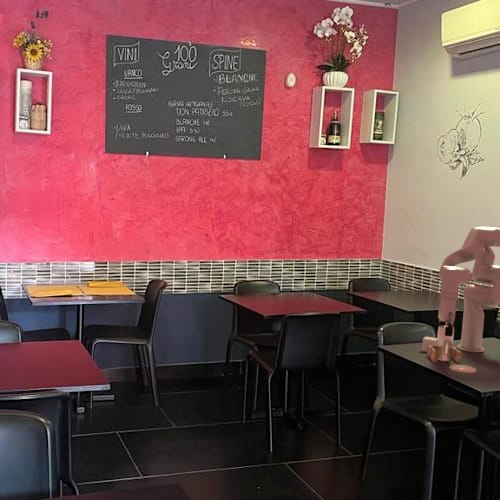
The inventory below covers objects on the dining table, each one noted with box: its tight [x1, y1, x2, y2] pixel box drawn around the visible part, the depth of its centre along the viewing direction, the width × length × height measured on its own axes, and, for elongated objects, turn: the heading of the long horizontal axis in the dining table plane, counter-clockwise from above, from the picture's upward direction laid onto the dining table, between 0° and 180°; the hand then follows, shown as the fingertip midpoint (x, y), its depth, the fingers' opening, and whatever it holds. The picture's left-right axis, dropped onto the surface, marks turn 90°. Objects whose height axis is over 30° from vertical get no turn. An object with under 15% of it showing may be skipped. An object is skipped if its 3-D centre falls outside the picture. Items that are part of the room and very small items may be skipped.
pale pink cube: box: [421, 336, 438, 353], centre depth 322 cm, size 6×6×6 cm
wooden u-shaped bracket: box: [426, 345, 462, 365], centre depth 307 cm, size 12×12×5 cm
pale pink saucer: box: [448, 364, 477, 374], centre depth 292 cm, size 11×11×1 cm
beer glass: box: [436, 325, 455, 362], centre depth 306 cm, size 7×7×15 cm
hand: (445, 333), depth 305 cm, fingers open, 9 cm apart
